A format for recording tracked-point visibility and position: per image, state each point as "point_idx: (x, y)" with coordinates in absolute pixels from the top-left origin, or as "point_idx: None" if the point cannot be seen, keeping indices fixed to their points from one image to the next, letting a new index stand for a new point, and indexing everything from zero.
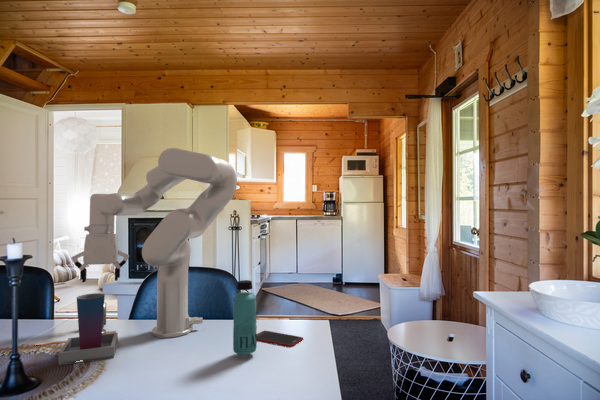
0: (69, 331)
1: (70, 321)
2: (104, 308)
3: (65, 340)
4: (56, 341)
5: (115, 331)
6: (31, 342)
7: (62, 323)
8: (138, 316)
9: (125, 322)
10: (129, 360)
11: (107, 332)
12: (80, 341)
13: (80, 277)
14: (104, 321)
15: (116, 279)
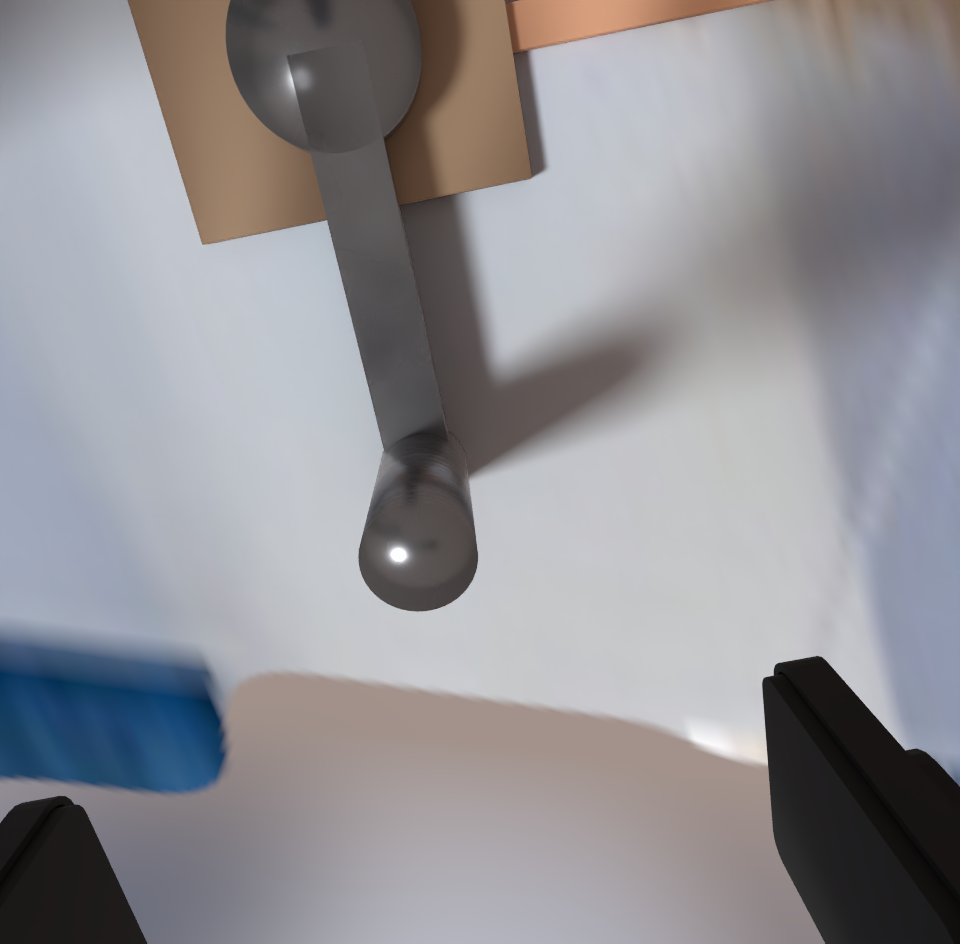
0: (686, 384)
1: None
2: (372, 503)
3: (627, 25)
4: (707, 11)
5: (195, 217)
6: (940, 83)
7: (816, 642)
8: (195, 748)
9: (247, 581)
10: None
11: (269, 195)
12: None
13: (945, 771)
14: (385, 455)
15: (16, 813)
